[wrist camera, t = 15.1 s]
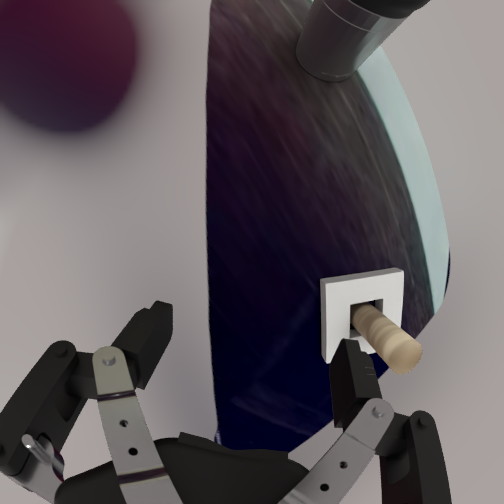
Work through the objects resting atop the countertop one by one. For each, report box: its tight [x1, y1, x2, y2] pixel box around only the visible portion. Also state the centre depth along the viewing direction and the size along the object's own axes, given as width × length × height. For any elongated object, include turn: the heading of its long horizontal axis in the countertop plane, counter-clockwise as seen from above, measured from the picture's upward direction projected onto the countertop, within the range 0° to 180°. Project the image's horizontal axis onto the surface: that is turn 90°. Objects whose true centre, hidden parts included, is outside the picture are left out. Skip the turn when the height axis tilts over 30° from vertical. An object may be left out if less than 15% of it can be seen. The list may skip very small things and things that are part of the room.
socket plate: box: [320, 268, 404, 363], centre depth 37 cm, size 12×12×2 cm
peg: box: [350, 302, 422, 374], centre depth 31 cm, size 4×4×14 cm
